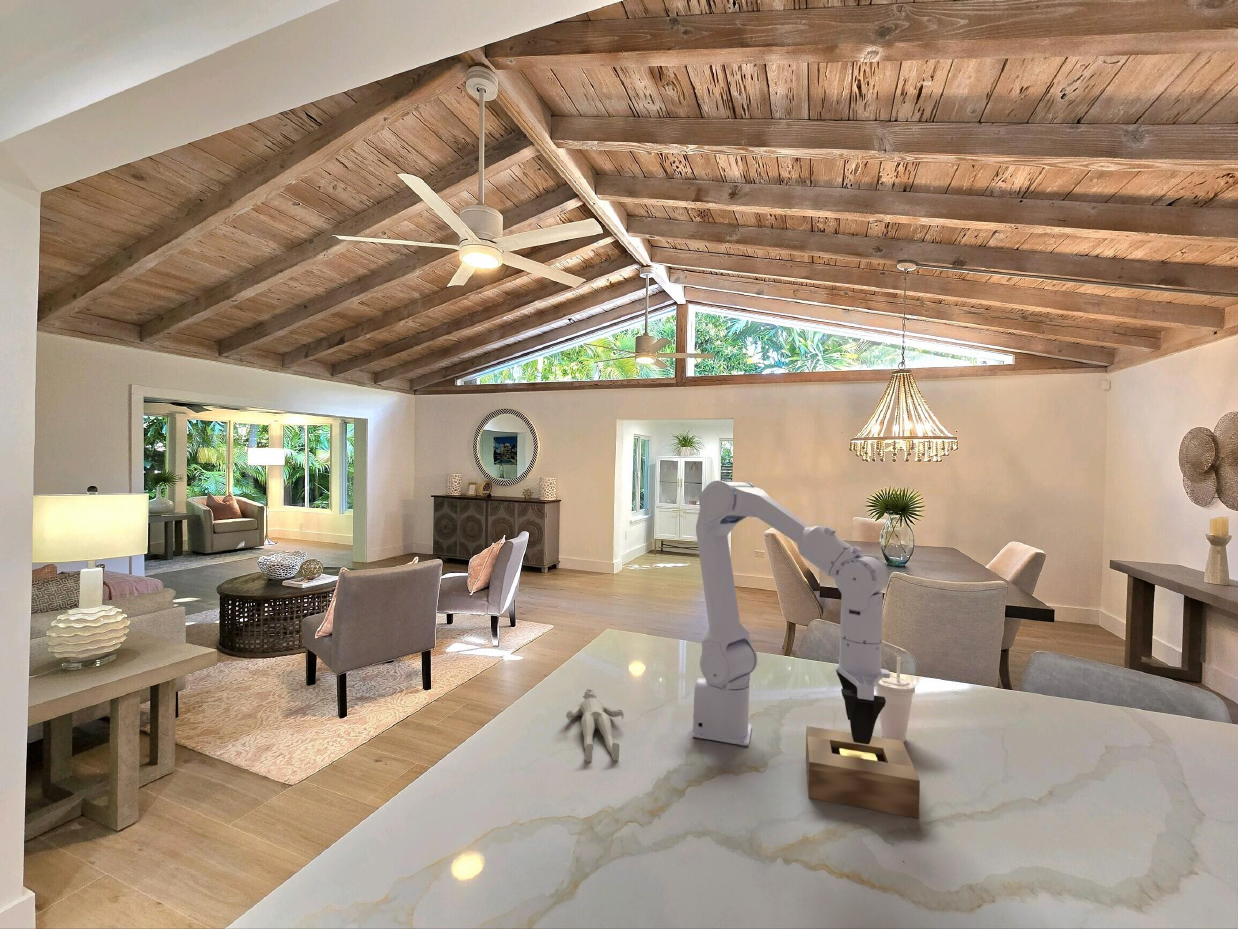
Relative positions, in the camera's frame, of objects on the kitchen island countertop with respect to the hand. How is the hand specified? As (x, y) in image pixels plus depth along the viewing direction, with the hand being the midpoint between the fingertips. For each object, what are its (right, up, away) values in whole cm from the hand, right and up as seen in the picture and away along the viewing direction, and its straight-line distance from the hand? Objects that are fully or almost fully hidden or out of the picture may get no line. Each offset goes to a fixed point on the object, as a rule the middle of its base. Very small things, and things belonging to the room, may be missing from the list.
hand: (857, 730), depth 82 cm
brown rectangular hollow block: (0, -8, 0) cm, 8 cm away
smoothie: (+13, -9, +16) cm, 22 cm away
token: (0, -8, 0) cm, 8 cm away
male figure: (-40, -7, +15) cm, 43 cm away
